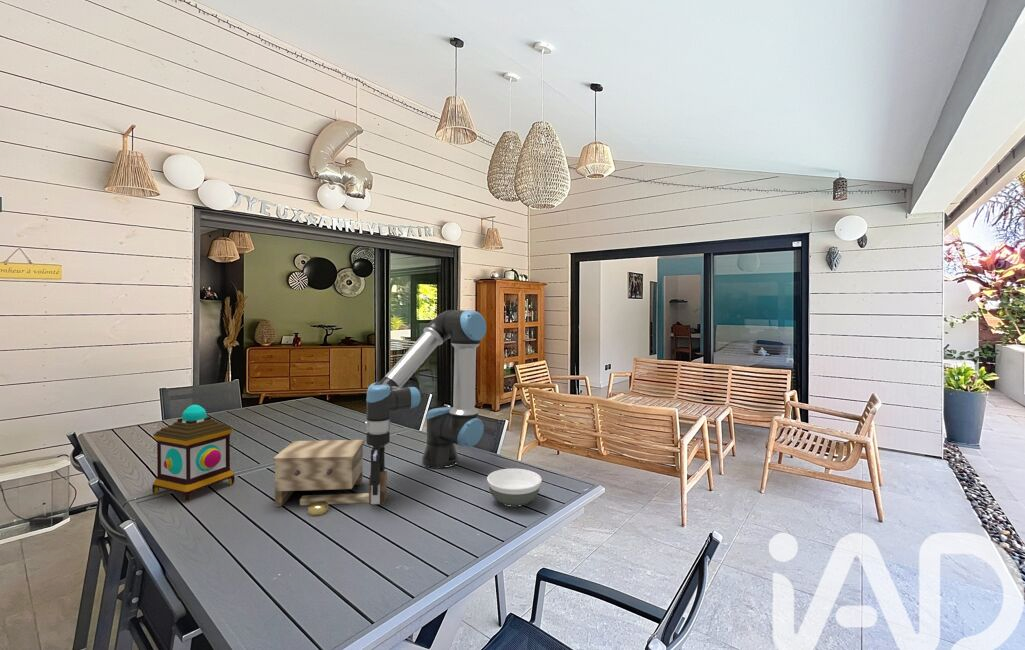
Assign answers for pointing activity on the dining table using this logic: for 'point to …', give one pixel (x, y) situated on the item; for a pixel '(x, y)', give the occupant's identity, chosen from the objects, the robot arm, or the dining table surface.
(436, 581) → the dining table surface
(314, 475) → the cabinet
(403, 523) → the dining table surface
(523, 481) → the bowl
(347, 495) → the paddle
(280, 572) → the dining table surface
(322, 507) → the puck
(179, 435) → the decorative lantern
